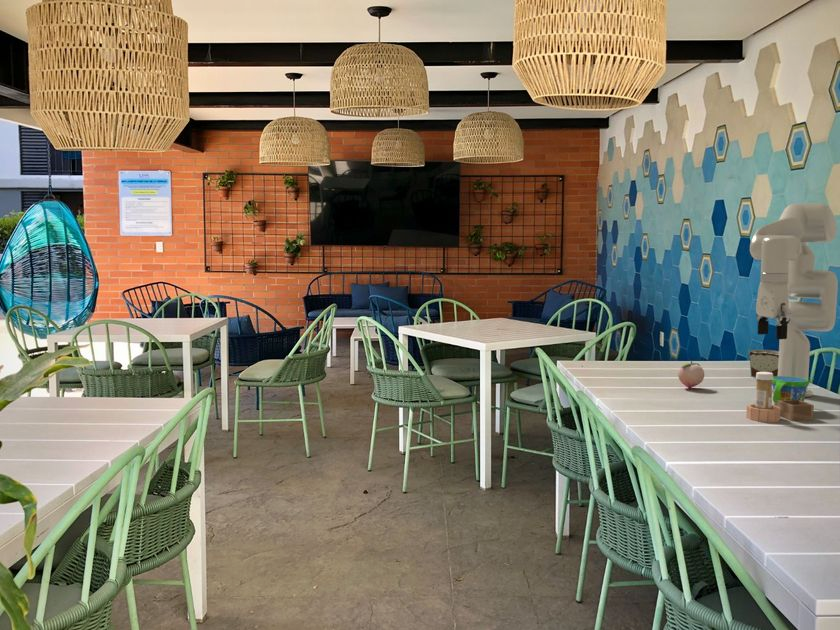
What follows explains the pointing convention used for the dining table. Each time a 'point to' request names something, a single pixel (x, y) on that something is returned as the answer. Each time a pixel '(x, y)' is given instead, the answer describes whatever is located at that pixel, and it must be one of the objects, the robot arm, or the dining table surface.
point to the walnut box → (796, 410)
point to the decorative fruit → (691, 374)
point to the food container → (764, 361)
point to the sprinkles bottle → (764, 390)
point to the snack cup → (789, 388)
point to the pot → (763, 413)
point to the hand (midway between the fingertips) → (771, 336)
